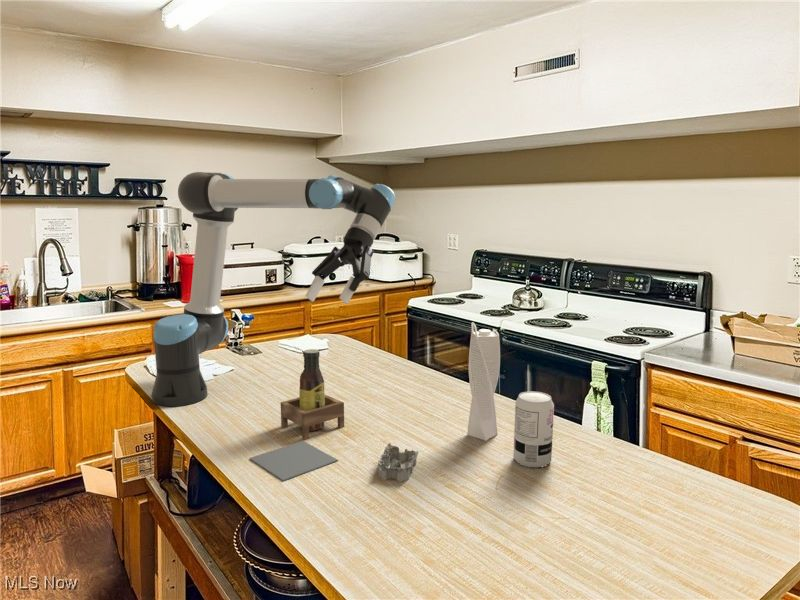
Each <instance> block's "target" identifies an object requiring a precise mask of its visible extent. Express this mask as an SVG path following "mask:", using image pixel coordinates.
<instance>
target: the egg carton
mask: <svg viewBox="0 0 800 600" xmlns="http://www.w3.org/2000/svg"><path fill="white" fill-rule="evenodd" d="M418 456H419V450H414V449H411V450H408V449H407V448H405V449H404V451H400V448H399V446H397V445H393V444H391V442H389V443H388V444H387V445H386V446H385V448H384V451H383V453H382V454H381V456H380V458H379V460H378V461H377V466H376V470H377V472H378V473H377V476H378V477H379V478H380V479H381V480H384V481H387V480H388V479H395V480H396V482H400V483H401V482H403V481H407V480H408V481H409V480H410V478H411V477H410V475H411V473H413V471H414V466H417V462H418V461H417V460H418V459H417V458H418ZM403 463H404V464H403Z"/></svg>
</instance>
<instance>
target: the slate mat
mask: <svg viewBox="0 0 800 600" xmlns="http://www.w3.org/2000/svg"><path fill="white" fill-rule="evenodd" d="M249 460H250V461H252V462H253V463H255V464H257V465H258V466H259V467H261V468H262V469H264V470H265V471H267V472H269V474H272V475H273V476H274V477H276V478H277V479H279V480H280V481H282V482H285V481H288V480H291V479H294V478H296V477H299V476H302V475H304V474H307V473H309V472H312V471H315V470H318V469H320V468H322V467H326V466H329V465H331V464H334V463H336V462H339V460H338V459H337V458H336V457H333V456H332V455H330V454H328V453H326V452H325V451H322V450H321V449H319V448H317V447H315V446H314V445H312V444H310V443H308V442H306V441H305V440H300V441H297V442H294V443H291V444H288V445H286V446H285V445H284V446H282V447H279V448H275V449H273V450H270V451H267V452H263V453H261V454H258V455H257V454H256V455H255V456H252V457H249Z"/></svg>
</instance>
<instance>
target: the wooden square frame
mask: <svg viewBox="0 0 800 600" xmlns="http://www.w3.org/2000/svg"><path fill="white" fill-rule="evenodd" d="M336 419H337V428H340V429H343V428H345V402H343V401H341V400H339V399H337V398H334V397H332V396H329V395H327V394H325V406H323V407H320V408H316V409H313V410H310V411H304V410H302V409H300V396H299V397H296V398H293V399H288V400H283V401H281V402H280V422H281V423H280V426H281V428H282V429H286V428H289V421H290V422H293V423H294V424H296V425H298V426H300V427H301V426H302V428H301V430H302V431H301V434H302V435H301V436H302V437H301V438H302V439H303V440H304V441H306V440H308V439H310V431H309V427H310V426H313V425H316V424H319V423H322V422H324V423H325V422H329V421H331V420H332V421H333V420H336ZM288 420H289V421H288Z"/></svg>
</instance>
